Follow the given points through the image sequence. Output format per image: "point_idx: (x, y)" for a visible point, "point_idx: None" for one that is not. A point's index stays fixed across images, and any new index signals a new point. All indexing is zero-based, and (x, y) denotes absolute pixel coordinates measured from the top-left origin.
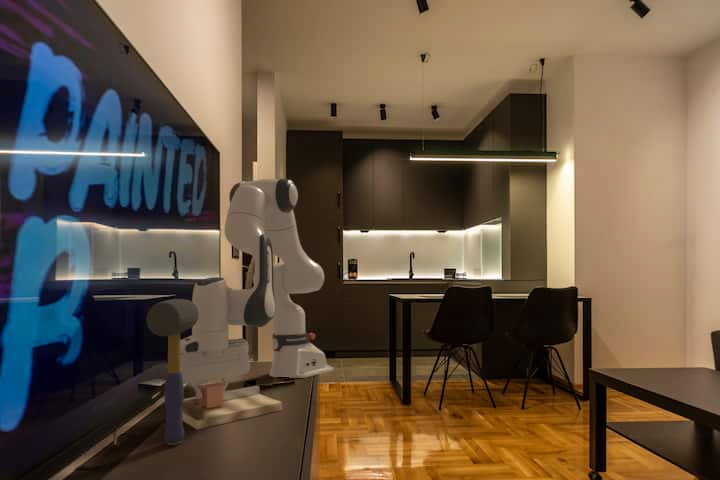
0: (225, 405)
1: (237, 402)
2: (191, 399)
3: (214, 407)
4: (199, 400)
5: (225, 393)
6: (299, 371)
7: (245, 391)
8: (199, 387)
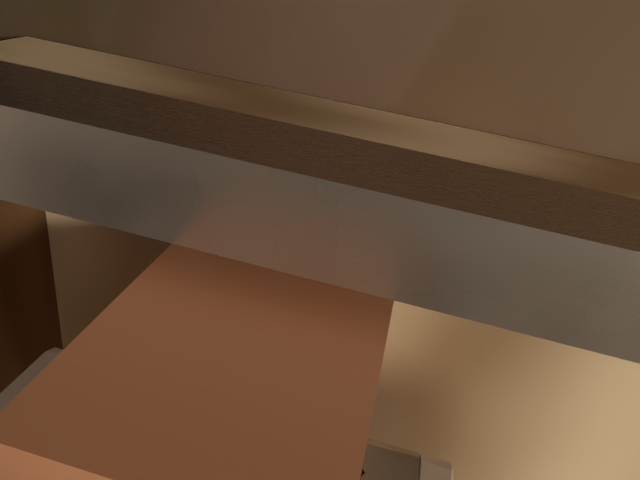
0: (411, 435)
1: (584, 466)
2: (42, 208)
3: None
4: (160, 255)
5: (625, 349)
6: None
7: None
8: (24, 391)
